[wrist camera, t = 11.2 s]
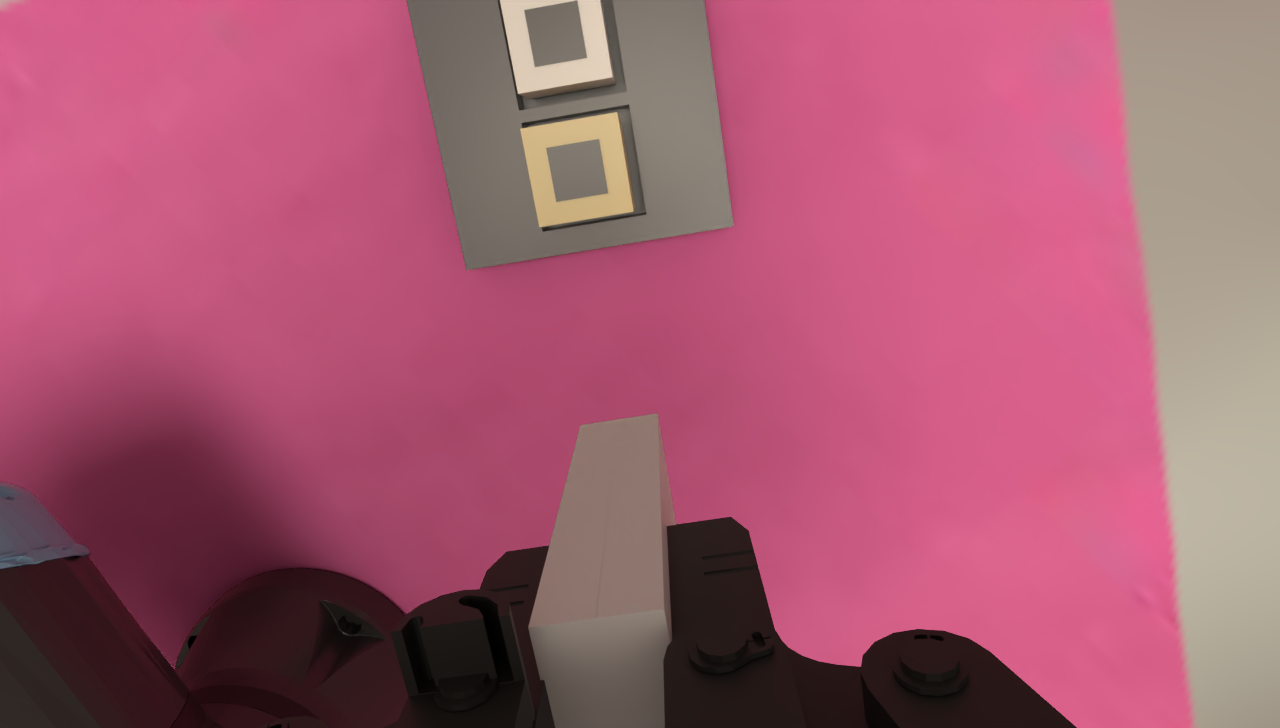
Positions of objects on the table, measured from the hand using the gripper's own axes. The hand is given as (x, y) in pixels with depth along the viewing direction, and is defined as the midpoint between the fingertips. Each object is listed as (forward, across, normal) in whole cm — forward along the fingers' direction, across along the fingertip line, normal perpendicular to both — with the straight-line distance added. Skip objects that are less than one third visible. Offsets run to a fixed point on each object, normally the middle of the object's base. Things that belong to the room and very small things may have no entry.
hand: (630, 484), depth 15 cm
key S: (+25, -2, +6) cm, 26 cm away
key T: (+27, -2, +12) cm, 29 cm away
